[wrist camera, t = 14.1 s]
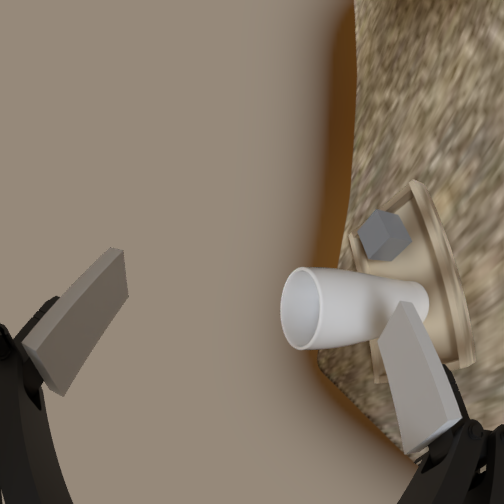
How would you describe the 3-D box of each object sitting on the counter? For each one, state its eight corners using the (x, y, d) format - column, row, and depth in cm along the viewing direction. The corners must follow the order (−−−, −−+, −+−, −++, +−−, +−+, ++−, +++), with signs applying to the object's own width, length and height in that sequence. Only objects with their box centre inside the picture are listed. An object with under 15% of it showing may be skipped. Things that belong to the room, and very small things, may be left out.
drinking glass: (429, 265, 25) (314, 252, 20) (442, 327, 22) (326, 345, 17) (387, 286, 31) (276, 281, 26) (396, 340, 28) (282, 354, 23)
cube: (379, 235, 33) (357, 231, 31) (398, 214, 30) (376, 209, 28) (391, 261, 30) (368, 259, 29) (412, 241, 27) (390, 237, 26)
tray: (361, 237, 37) (348, 235, 37) (425, 184, 26) (413, 179, 26) (387, 379, 29) (374, 383, 28) (476, 361, 18) (466, 366, 17)
